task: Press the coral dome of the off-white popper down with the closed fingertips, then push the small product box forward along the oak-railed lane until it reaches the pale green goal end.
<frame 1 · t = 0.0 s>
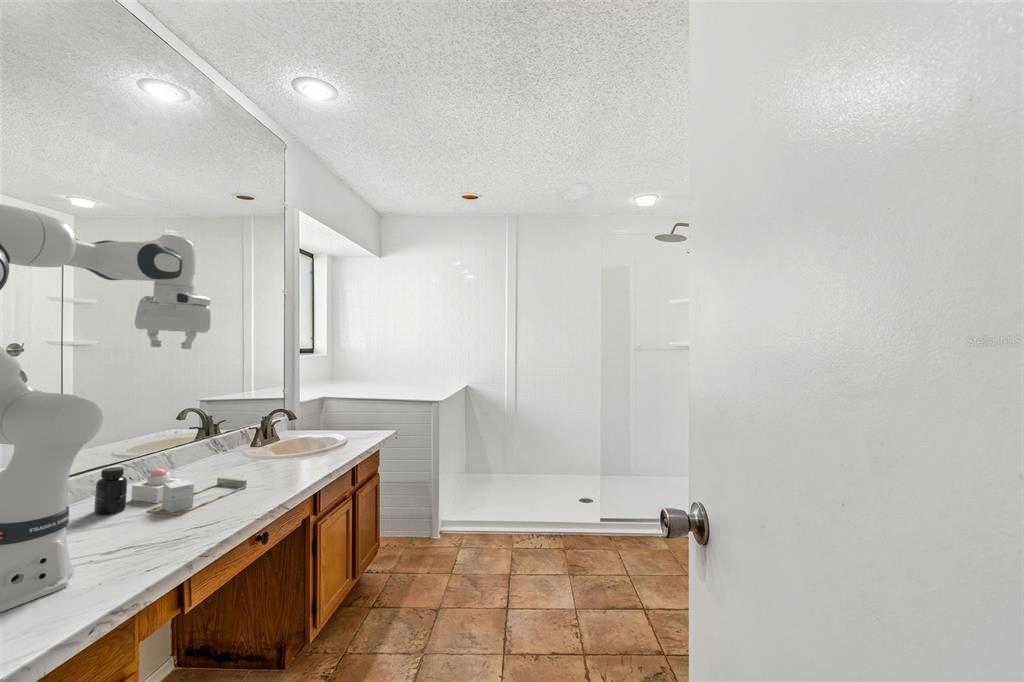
hand: (170, 348, 124), 48 cm above the worktop, fingers open, 8 cm apart
product box: (177, 508, 136), on the worktop
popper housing: (157, 496, 144), on the worktop
plunger: (158, 478, 144), point 6 cm above the worktop, slide at 0.0 cm
supplement bottle: (110, 511, 132), on the worktop
track: (199, 499, 144), on the worktop
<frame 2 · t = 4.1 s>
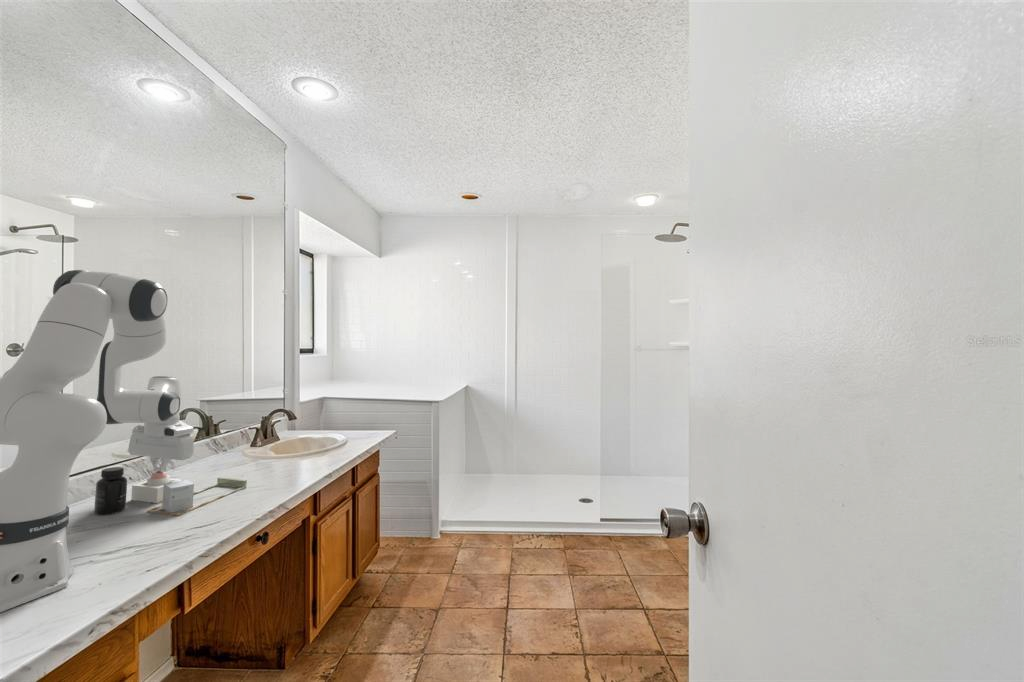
hand: (159, 471, 144), 8 cm above the worktop, fingers closed, pressing on plunger
plunger: (158, 481, 144), point 5 cm above the worktop, slide at 0.9 cm, touching gripper
everything else where it was.
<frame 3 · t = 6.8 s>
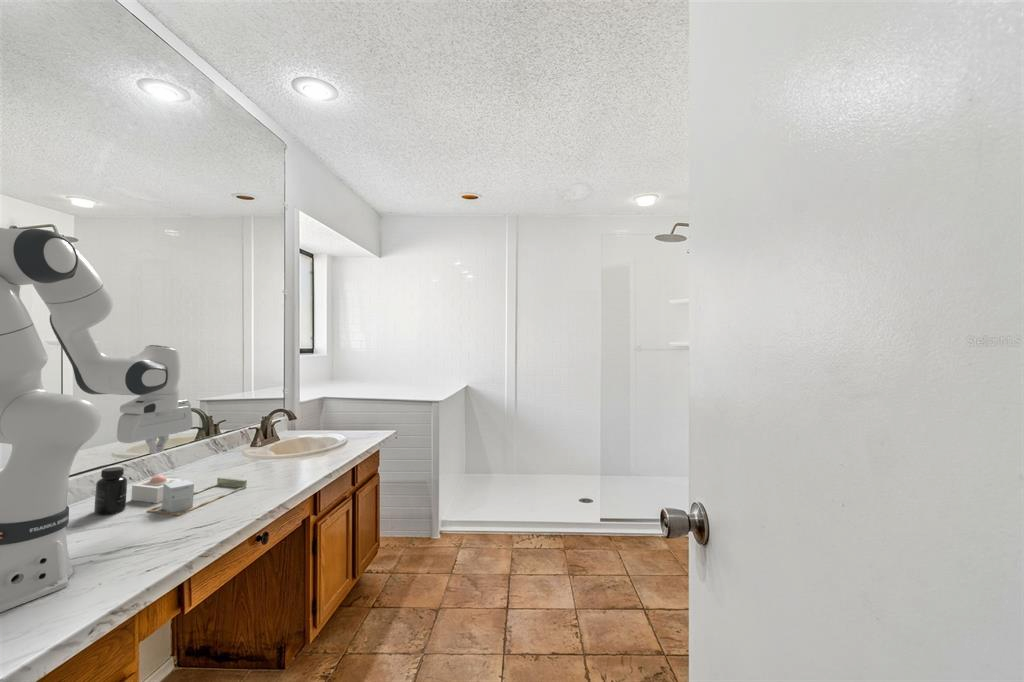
hand: (156, 452, 129), 18 cm above the worktop, fingers closed
plunger: (158, 485, 144), point 4 cm above the worktop, slide at 2.1 cm
everything else where it was.
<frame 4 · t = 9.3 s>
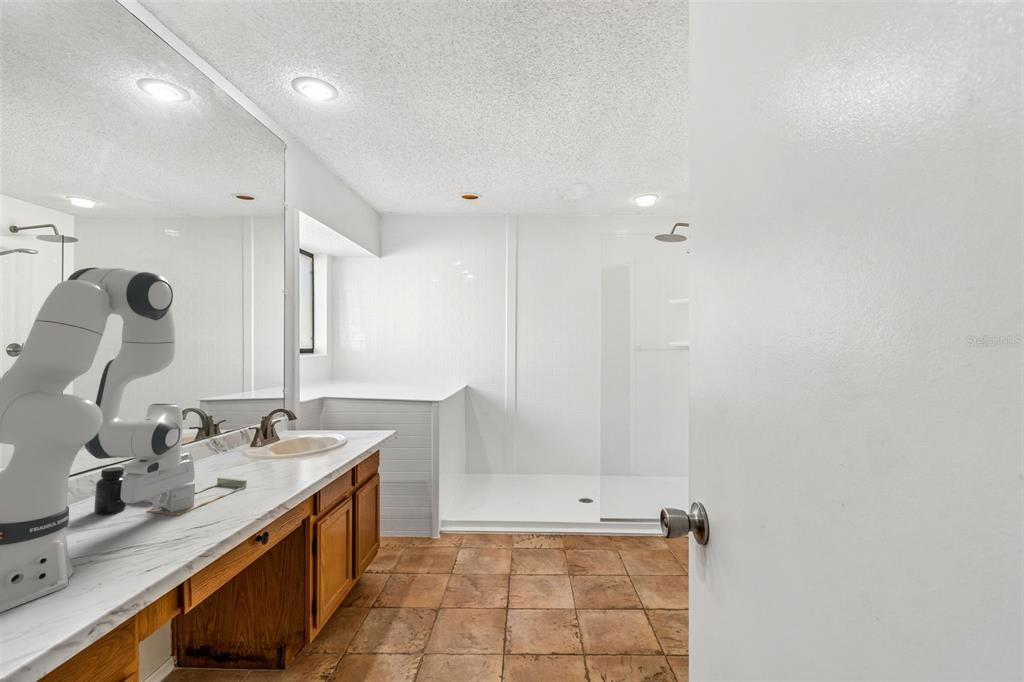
hand: (159, 508, 130), 2 cm above the worktop, fingers closed
product box: (178, 508, 137), on the worktop, touching gripper
everything else where it was.
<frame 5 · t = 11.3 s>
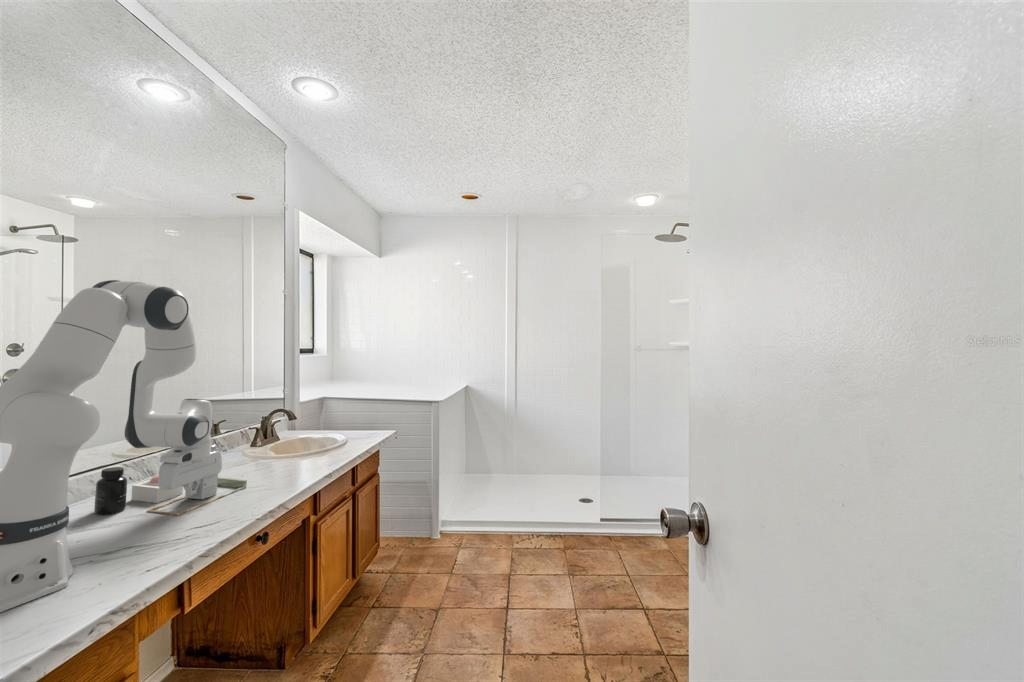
hand: (191, 495, 141), 2 cm above the worktop, fingers closed
product box: (200, 497, 146), on the worktop, touching gripper
everything else where it was.
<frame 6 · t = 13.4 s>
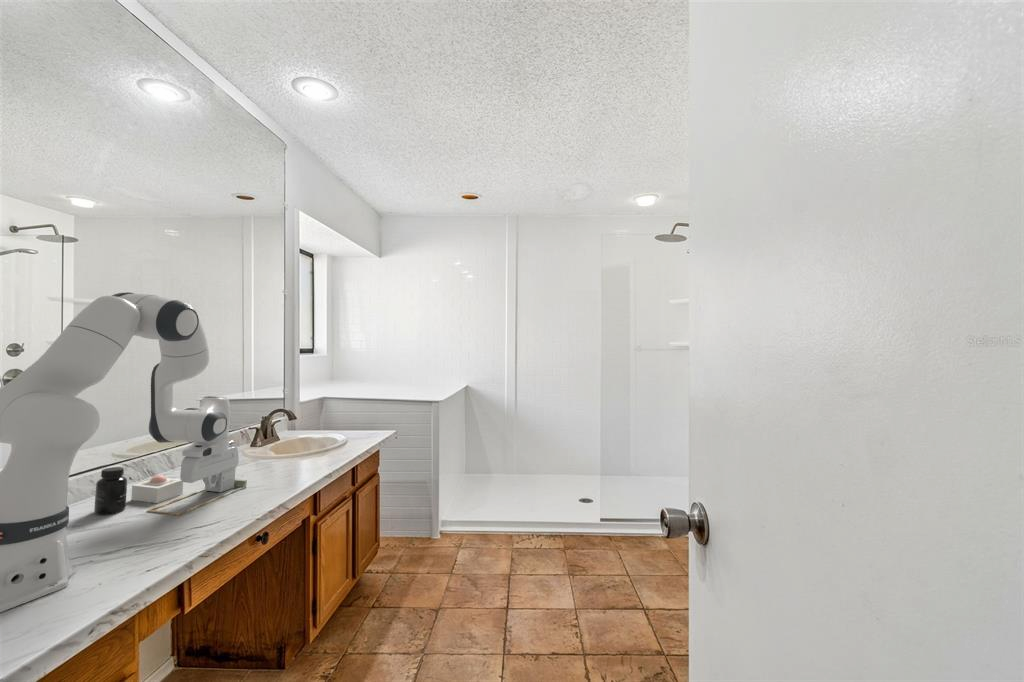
hand: (210, 488, 148), 2 cm above the worktop, fingers closed
product box: (219, 489, 154), on the worktop, touching gripper
everything else where it was.
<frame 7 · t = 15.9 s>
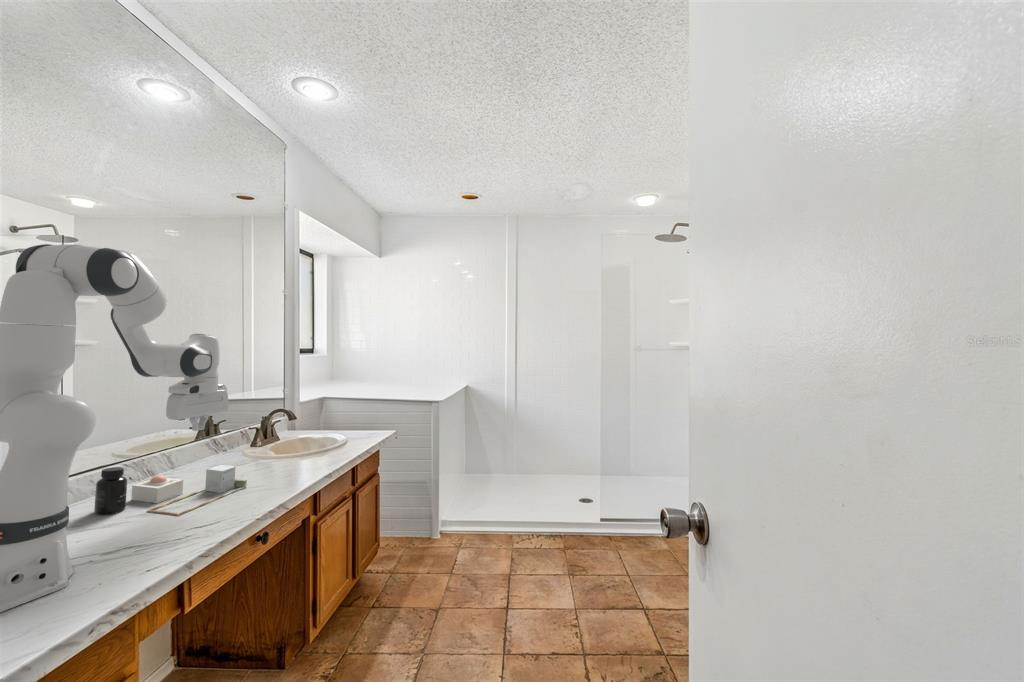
hand: (198, 430, 143), 22 cm above the worktop, fingers closed
product box: (219, 490, 154), on the worktop
everything else where it was.
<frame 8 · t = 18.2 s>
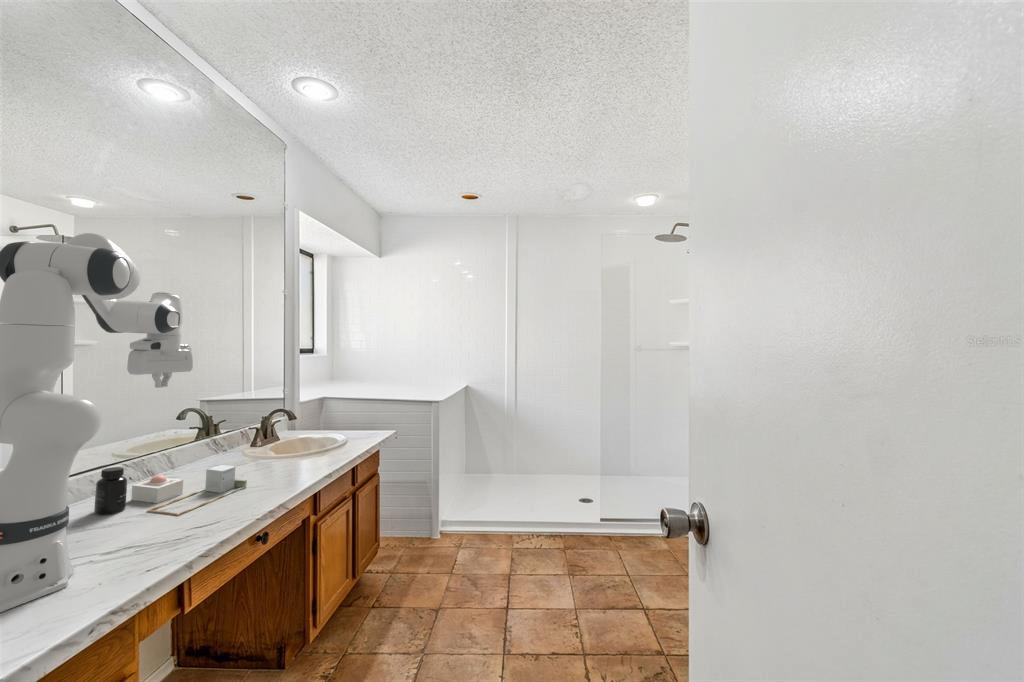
hand: (161, 387, 147), 34 cm above the worktop, fingers closed
nothing on the worktop moved.
at the end: product box inside the target area (1.7 cm from its centre), on the worktop; product box tilted 0°; plunger slide at 2.1 cm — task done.
